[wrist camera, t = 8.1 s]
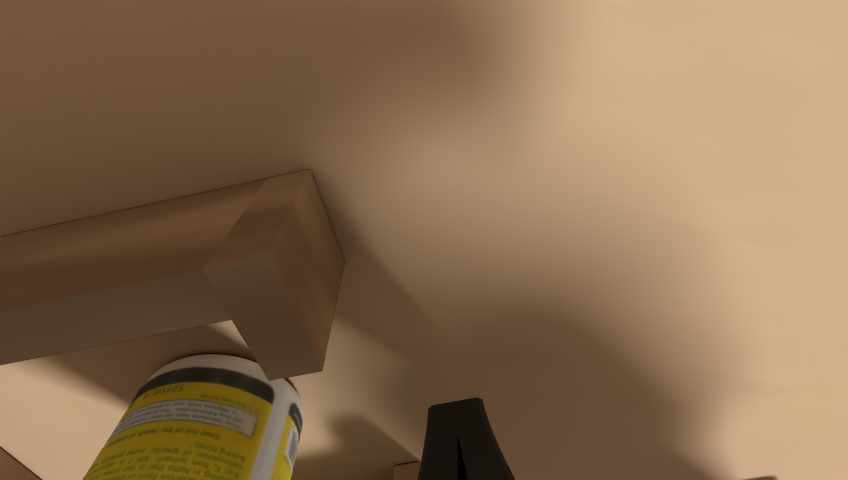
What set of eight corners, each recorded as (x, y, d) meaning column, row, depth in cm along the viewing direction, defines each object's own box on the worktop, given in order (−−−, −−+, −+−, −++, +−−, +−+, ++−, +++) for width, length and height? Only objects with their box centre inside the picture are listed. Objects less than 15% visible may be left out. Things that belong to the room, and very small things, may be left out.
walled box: (433, 497, 16) (440, 611, 13) (103, 550, 17) (40, 668, 14) (310, 168, 9) (265, 256, 6) (-247, 290, 10) (-522, 419, 7)
